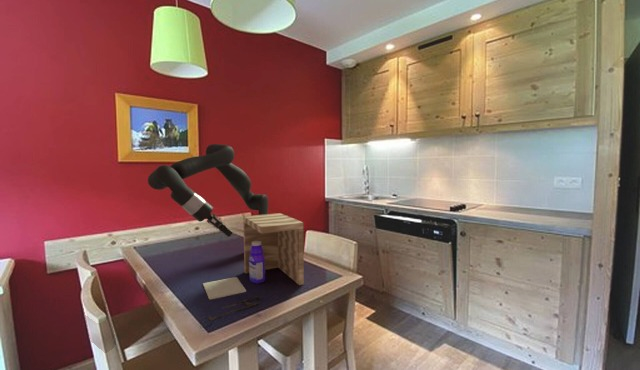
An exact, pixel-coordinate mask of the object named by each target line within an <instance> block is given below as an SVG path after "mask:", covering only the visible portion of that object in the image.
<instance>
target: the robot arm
mask: <svg viewBox="0 0 640 370" xmlns="http://www.w3.org/2000/svg"><path fill="white" fill-rule="evenodd" d="M234 159H235V150H234V149H233V147H232V146H230V145H228V144H219V143H211V144H209V145H208V146H207V147H206V149H205V154H204V155H203V154H202V155H197V156H192V157H187V158H185V159H181V160H179V161H176V162H174V163H172V164H171V165H167V164H162V165H160V166H158V167H157V168H156V169H154V170H153V172H151V173H150V174H149V175H148V178H147V184H148V185H149V187H150V188H152V189H154V190H164V189H168V188H169V190H170V191H171V192H170V198H171V199H172V200H173V201H174V202H175V203H177V204H178V205H180V207H182V209H183V210H184V211H186V213H188V214H189V215H190V216H192V217H193V218H194V219H195V220H196V221H198V222H203V221H204V220H206V222H207V223H208V224H209V225H210V226H213V228H214V229H216V230H219V231H220V232H222V233H223V234H224V235H225V236H227V237H228V238H230V237H231V236H232V234H233V232H232V231H231V230H230V229H229V228H228V227H227V226H226V225H225V224H223V221H222V220H221V219H220V218H219V217H218V215H216V214H214V213H212V212H213V210H214V206H213V205H211V204H210V203H209V202H208V201H206V200H205V198H203V197H202V196H201V195H199V194H198V193H197V192H195V191H194V190H193V189H191V187H189V186H188V185H187V184H186V182H185V181H184V179H188V178H190V177H192V176H195V175H197V174H199V173H201V172H204V171H208V170H210V169H217V170H218V171H219V172H220V174H222V176H223V177H224V178H225V180H227V181H228V183H229V184H230V185H231V186H232V187H233V189H235V191H236V192H237V193H238V195H239V196H240V197H241V198H242V200H243V202H244V203H245V204H246V207H247V208H248V209H249V210H251V211H258V213H257V215H264V214H269V198H268V196H267V195H266V194H263V193H258V194H257V193H253V192H252V191H251V189H252V188H251V187H252V181H251V179H250V177H249V176H248V175H247V173H246V172H245V171H244V170H243V169H241V168H240V167H238V166H236V165H235V164H234V163H233V161H234ZM211 213H212V214H211Z"/></svg>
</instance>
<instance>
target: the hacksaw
mask: <svg viewBox="0 0 640 370" xmlns="http://www.w3.org/2000/svg"><path fill="white" fill-rule="evenodd" d="M261 299H263V296H261V295H256V296H254V297H250V298H248V299H245V300H242V301H238V302H236V303H233V304H229V305H226V306H222V307H221V309H227V308H231V307H235V306H237V305H242V304H244V305H246V306H242V307H240V308H237V309H234V310H231V311H229V312H228V311H227V312H225V313H222V314H220V315H218V316H215V317H212V316H210V315H207V317H208V319H209V320H210V321H211V322H210V324H209V325H207V326H201V325H199V327H200V328H206V329H207V328H208V327H209V328H210V327H211V326H212V324H213V322H214V321H215V320H218V319H221V318H223V317H224V316H227V315H230V314H231V315H232V314H234V313H237V312H241V311H244V310H246V309H249V308H254V307H255V306H256V305H258V306H256V308H258V307H260V306H261V305H262V304H261V303H260V302H255V303H252V302H253V301H259V300H261Z"/></svg>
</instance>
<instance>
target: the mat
mask: <svg viewBox="0 0 640 370" xmlns="http://www.w3.org/2000/svg"><path fill="white" fill-rule="evenodd" d="M202 286H203V288H204V291H205V292H206V294H207V297H208V300H215V299H220V298H225V297H228V296H233V295H238V294H242V293H246V292H247V289H246V288H245V287H244V285H243V283H241V280H239V278H238V277H237V276H234V277H229V278H224V279H219V280H214V281H208V282H203V283H202Z"/></svg>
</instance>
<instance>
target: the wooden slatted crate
mask: <svg viewBox="0 0 640 370" xmlns="http://www.w3.org/2000/svg"><path fill="white" fill-rule="evenodd" d="M242 219H243V223H242V224H243V254H244V255H243V257H244V258H243V260H244V261H243V264H244V274H249V257H250V255H251V254H250V251H251V248H252V242H253V241H261V246H262V250H263V255H264V258H265V271H267V270H271V269H276V268H277V269H279V270H280V271H282V272H283V273H284V274H285V275H287V276H288V277H289V278H290V279H291V280H292V281H294V282H295V283H296V284H297V285H299V286H303V285H304V282H305V279H304V276H305V274H304V273H305V271H304V270H305V269H304V268H305V267H304V266H305V264H304V263H305V262H304V257H305V256H304V254H305V253H304V249H305V248H304V222H303V221H301V220H298V219H296V218H293V217H291V216H288V215H286V214H284V213H281V212H278V213H268V214H264V215H258V214H257V215H245V216H244V215H243V217H242Z"/></svg>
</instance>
